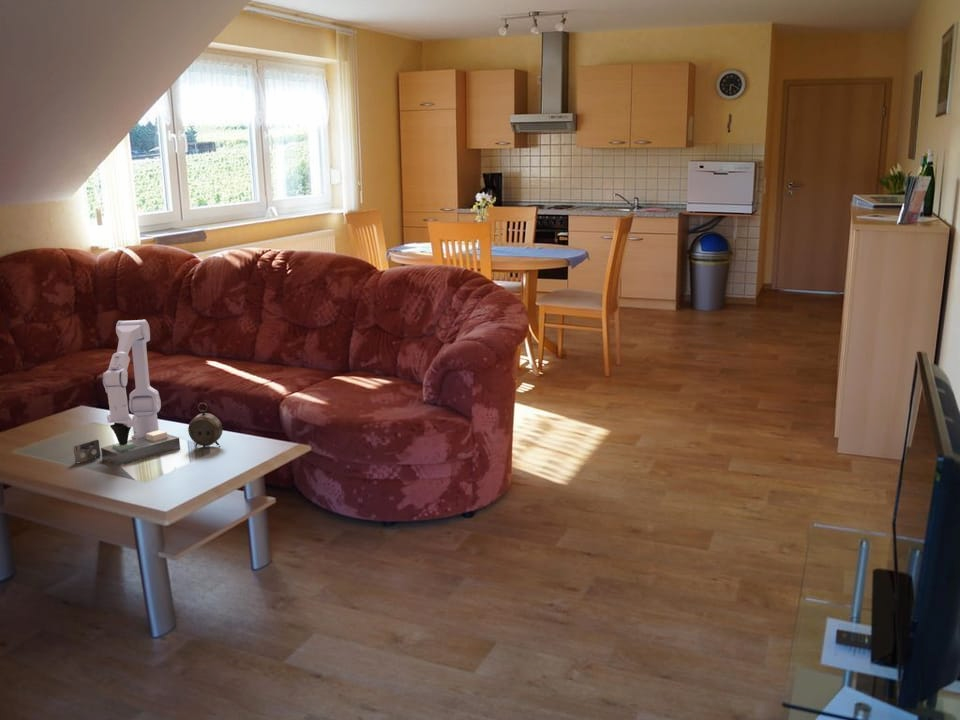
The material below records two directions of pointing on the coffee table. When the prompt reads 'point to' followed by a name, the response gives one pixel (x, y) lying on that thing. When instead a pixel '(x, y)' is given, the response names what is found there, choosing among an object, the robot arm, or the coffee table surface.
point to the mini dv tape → (86, 451)
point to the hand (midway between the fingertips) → (123, 444)
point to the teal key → (123, 446)
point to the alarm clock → (205, 429)
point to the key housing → (140, 450)
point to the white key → (156, 435)
